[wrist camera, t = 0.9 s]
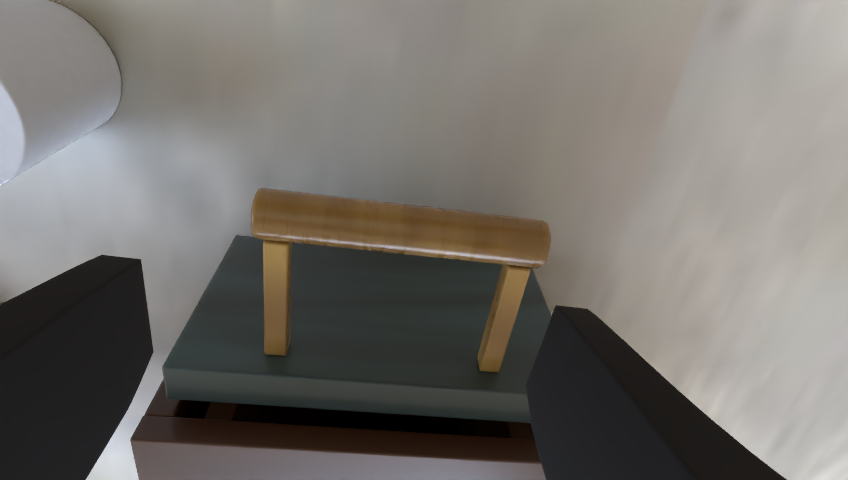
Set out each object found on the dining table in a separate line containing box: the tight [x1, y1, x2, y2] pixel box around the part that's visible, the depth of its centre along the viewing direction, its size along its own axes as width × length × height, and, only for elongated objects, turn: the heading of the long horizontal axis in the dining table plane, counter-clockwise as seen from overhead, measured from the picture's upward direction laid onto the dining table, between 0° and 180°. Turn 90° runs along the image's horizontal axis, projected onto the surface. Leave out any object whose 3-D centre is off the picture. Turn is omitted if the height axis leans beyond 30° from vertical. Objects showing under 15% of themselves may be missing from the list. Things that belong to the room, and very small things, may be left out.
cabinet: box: [131, 379, 546, 480], centre depth 21 cm, size 15×13×9 cm
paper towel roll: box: [0, 0, 122, 185], centre depth 14 cm, size 4×4×5 cm
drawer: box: [162, 188, 552, 440], centre depth 18 cm, size 18×11×7 cm, turn 171°
